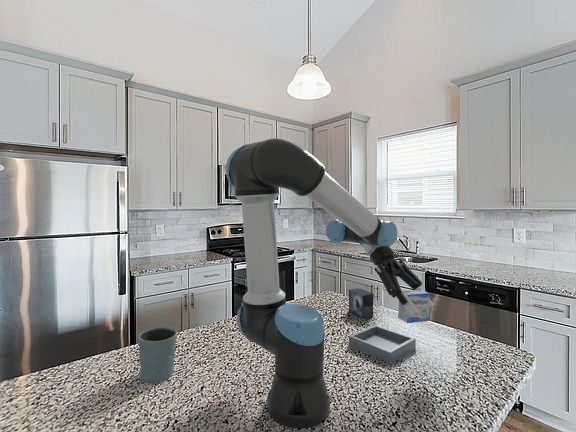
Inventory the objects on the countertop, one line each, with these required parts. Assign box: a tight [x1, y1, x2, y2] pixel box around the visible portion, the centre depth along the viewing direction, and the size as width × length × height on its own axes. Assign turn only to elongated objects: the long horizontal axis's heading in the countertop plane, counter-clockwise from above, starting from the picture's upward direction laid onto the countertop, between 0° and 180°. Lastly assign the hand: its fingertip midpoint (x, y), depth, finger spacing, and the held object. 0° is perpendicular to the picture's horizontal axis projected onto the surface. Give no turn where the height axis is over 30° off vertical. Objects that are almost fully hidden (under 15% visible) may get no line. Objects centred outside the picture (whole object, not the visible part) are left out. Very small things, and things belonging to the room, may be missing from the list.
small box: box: [348, 287, 375, 320], centre depth 143 cm, size 11×6×10 cm, turn 25°
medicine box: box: [397, 289, 431, 324], centre depth 97 cm, size 8×4×9 cm, turn 104°
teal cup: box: [137, 326, 178, 384], centre depth 90 cm, size 10×10×12 cm
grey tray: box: [348, 324, 417, 364], centre depth 109 cm, size 16×16×4 cm
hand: (422, 309), depth 95 cm, fingers closed on medicine box, 9 cm apart
